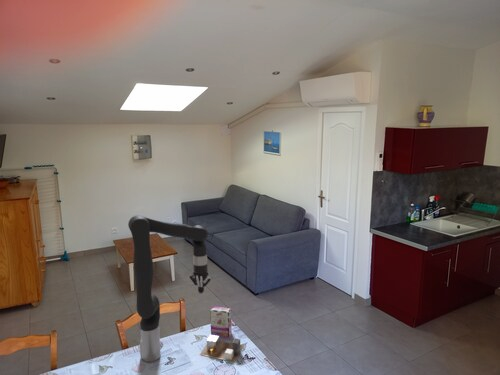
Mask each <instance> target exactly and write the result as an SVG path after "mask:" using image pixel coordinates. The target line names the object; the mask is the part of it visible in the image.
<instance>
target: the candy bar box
mask: <svg viewBox="0 0 500 375" xmlns="http://www.w3.org/2000/svg"><path fill="white" fill-rule="evenodd" d="M209 312H210V335H215V336H219V337H223V338H230V337H231V336H232V308H230V307H223V306H216V305H215V306H212V307H211V309H210V310H209Z"/></svg>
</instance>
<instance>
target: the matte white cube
mask: <svg viewBox="0 0 500 375" xmlns="http://www.w3.org/2000/svg"><path fill="white" fill-rule="evenodd" d="M233 356H234V350H232V349H227V350H226V351H225V359H228V360H232V358H233Z"/></svg>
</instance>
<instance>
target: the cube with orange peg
mask: <svg viewBox="0 0 500 375" xmlns="http://www.w3.org/2000/svg"><path fill="white" fill-rule="evenodd" d="M219 341H220V336H215V335H211V334H209V336H208V338H207V339H206V345H207V350H208V351H211V354H213V353H214V352H216V351H217V350H218V348H219Z"/></svg>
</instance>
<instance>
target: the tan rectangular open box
mask: <svg viewBox="0 0 500 375" xmlns="http://www.w3.org/2000/svg"><path fill="white" fill-rule="evenodd" d="M244 347H245V345H243V344H241V338H233V341H232V342H231V343H229V342H226V341H220V340H219V348H218V350H217V351H216V352H214V353H213V354H211V351H208V350H207V344H206V345H205V346H204V347H203V349H202V351H201V352H200V353H199V356H202V357H207V358H211V359H212V358H213V359H217V360H222V361H226V362H232V363H236V362H237V360H238V358H239V356H241V353H242V351H243V349H244ZM227 349H232V350H234V356H233V358H232V360H228V359H225V351H226V350H227Z"/></svg>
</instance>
